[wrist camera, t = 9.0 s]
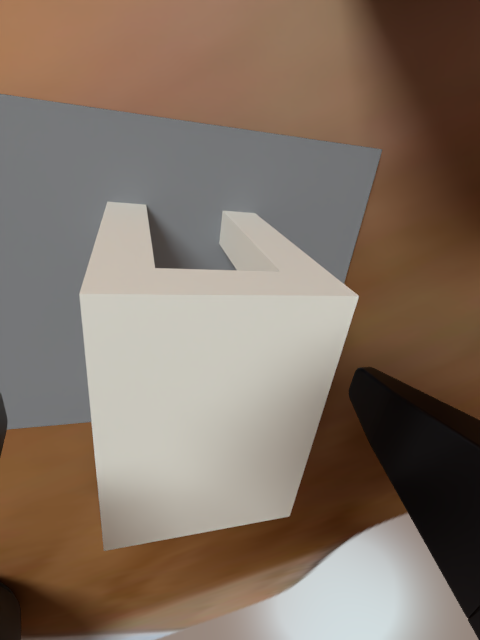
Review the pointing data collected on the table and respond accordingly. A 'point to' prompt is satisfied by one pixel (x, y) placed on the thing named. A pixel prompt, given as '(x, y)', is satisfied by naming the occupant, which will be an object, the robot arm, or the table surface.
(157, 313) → the white u-channel block
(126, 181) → the mat
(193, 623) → the table surface
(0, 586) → the jar
